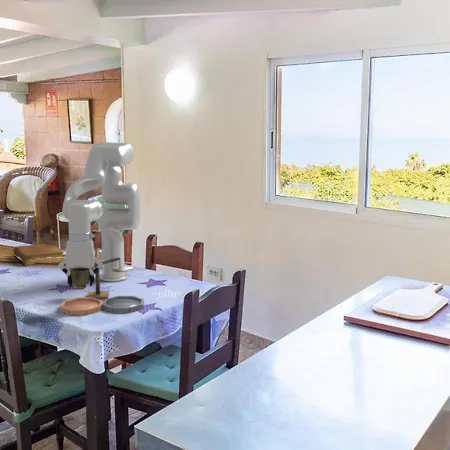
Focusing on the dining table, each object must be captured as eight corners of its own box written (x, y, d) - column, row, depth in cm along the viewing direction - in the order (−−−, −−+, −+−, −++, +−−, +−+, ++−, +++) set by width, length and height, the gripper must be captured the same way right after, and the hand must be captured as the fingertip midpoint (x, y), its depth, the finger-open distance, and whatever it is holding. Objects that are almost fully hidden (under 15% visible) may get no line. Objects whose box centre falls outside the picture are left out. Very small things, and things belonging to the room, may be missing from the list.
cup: (95, 288, 195) (95, 267, 194) (78, 292, 190) (77, 271, 188) (83, 284, 200) (83, 263, 199) (66, 288, 194) (65, 267, 193)
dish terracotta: (87, 299, 206) (87, 295, 206) (110, 308, 197) (110, 303, 197) (53, 308, 196) (53, 303, 195) (76, 317, 186) (75, 313, 186)
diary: (13, 257, 273) (13, 246, 272) (50, 253, 284) (50, 243, 283) (24, 267, 254) (24, 255, 254) (64, 262, 265) (63, 251, 264)
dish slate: (126, 297, 209) (126, 293, 209) (151, 306, 200) (151, 301, 200) (95, 306, 199) (95, 301, 198) (119, 315, 189) (119, 310, 189)
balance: (128, 293, 215) (127, 254, 213) (127, 299, 208) (127, 259, 205) (68, 294, 212) (67, 255, 209) (65, 301, 204) (64, 260, 201)
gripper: (105, 235, 197) (106, 282, 200) (56, 235, 194) (58, 283, 197) (103, 239, 189) (104, 287, 192) (53, 239, 187) (54, 289, 190)
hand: (81, 285), depth 195 cm, fingers closed on cup, 6 cm apart
